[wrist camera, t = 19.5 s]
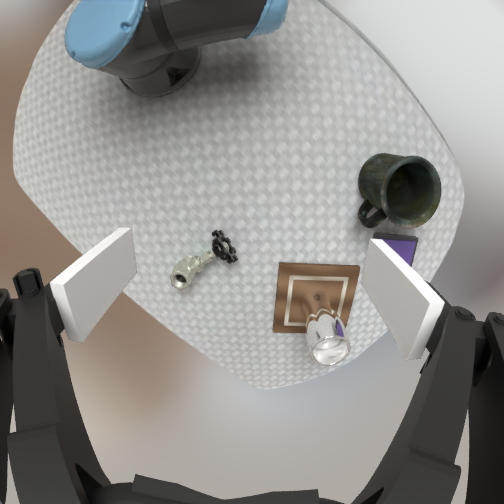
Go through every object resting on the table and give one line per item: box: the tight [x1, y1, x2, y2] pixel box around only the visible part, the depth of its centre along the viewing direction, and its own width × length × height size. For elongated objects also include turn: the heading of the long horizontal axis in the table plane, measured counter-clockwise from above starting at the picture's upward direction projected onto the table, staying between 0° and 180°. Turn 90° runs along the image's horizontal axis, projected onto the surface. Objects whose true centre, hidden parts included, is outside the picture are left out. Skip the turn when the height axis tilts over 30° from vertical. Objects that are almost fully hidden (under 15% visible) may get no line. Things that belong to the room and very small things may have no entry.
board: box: [273, 262, 360, 333], centre depth 55 cm, size 16×16×1 cm
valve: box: [170, 230, 238, 290], centre depth 50 cm, size 7×7×12 cm
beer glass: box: [301, 289, 350, 366], centre depth 48 cm, size 7×7×15 cm
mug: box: [358, 153, 441, 228], centre depth 41 cm, size 11×15×12 cm
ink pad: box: [373, 233, 418, 267], centre depth 51 cm, size 10×10×2 cm
